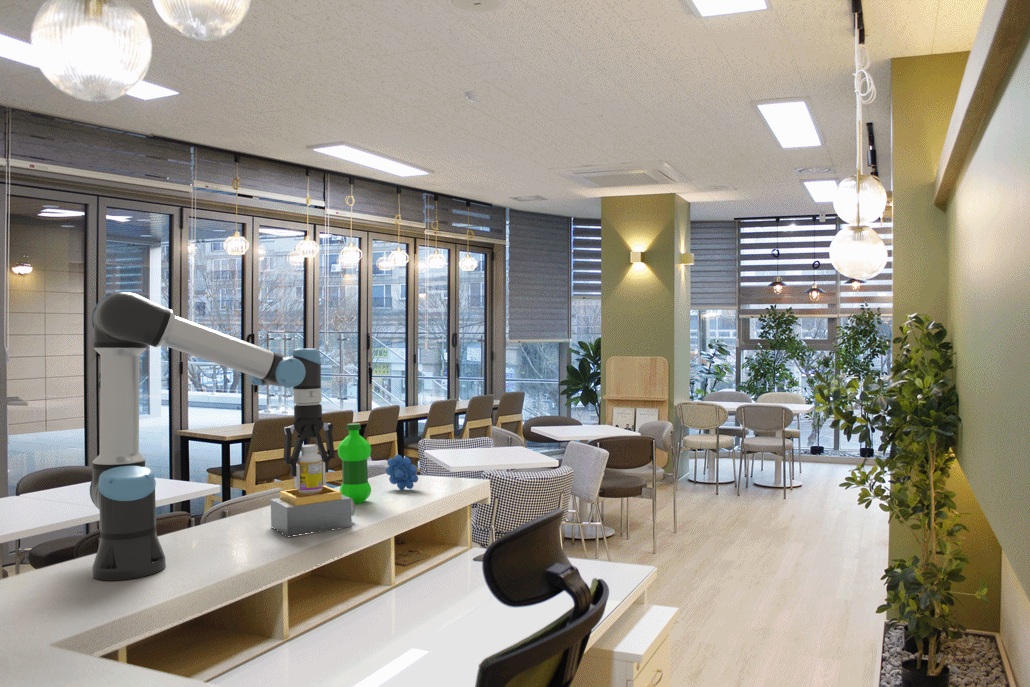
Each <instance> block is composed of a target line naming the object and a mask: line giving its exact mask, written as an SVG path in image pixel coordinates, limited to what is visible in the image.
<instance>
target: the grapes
mask: <svg viewBox="0 0 1030 687" xmlns="http://www.w3.org/2000/svg"><path fill="white" fill-rule="evenodd" d="M386 462H387V466H386V468H385V473H386V475H388V476H389V478H388V480H389V482H390V484H392V485H396V487H397V489H399V490H402V491H403V490H405V489H409V490H412V489H413V488H414V485H415V484H416V483H417V482H418V481H419V476H418V475H417V474H416V473H418V467H417V466H416V465H415V464H412V460H411V458H409V457H408V456H404V457H402V455H400V454H395V455H394V457H393V458H388V460H387V461H386ZM414 483H415V484H414Z"/></svg>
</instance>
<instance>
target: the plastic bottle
mask: <svg viewBox="0 0 1030 687" xmlns="http://www.w3.org/2000/svg"><path fill="white" fill-rule="evenodd" d="M360 430H361V423H360V422H359V423H358V422H356V423H352V422H351V423H347V424H346V431H348V435H346V436H345V438H344V439H343V440H342V441H341V442H339V443H338V446H337V455H338V458H339V459H340V460H341V468H342V470H341V473H342V475H341V476H342V483H341V485H340V487H339V491H340V492H342V495H344V496H347V497H349V498H352V499H353V501H354V504H355V505H357V503H359V504H363V503H365V502H366V500H367V499H368V498H369V497H370V496H371V493H372V488H371V485H370V482H369V478H368V474H369V473H368V471H369V470H368V459H369V457H370V456H371V453H372V447H371V443H370V442H369V441H368V440H366V439H365V437H363V436H362V435H360ZM362 502H363V503H362Z"/></svg>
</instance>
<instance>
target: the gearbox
mask: <svg viewBox="0 0 1030 687" xmlns="http://www.w3.org/2000/svg"><path fill="white" fill-rule="evenodd" d="M355 506H356V504H354V501H353V499H352V498H349V497H347V496H344V495H342V492H340V490H338V489H335V488H332V487H330V486H328V485H324V486H323V485H322V491H320V492H317V493H310V494H304V493H300V492H299V491H298V489H296V488H294V489H293V488H292V489H286V490H280V491H279V497H278V498H277V497H276V498H270V524H271V527H273V528H275V529H276V530H278V531H279V532H281V533H283V534H284V535H286V536H293V535H299V534H305V533H311V532H319V531H325V532H327V531H326V530H330V531H333V530H332V529H336V530H339V529H338V528H342V529H347V528H346V527H348V528H352V526H353V525H352V523H353V522H352V517H353V516H354V515H355V512H356V507H355ZM273 528H272V529H273ZM276 530H275V531H276ZM278 531H277V532H278ZM279 532H278V533H279ZM281 533H280V534H281ZM319 533H320V532H319ZM283 534H282V535H283ZM284 535H283V536H284ZM286 536H285V537H286Z"/></svg>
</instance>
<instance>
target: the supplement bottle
mask: <svg viewBox="0 0 1030 687" xmlns="http://www.w3.org/2000/svg"><path fill="white" fill-rule="evenodd" d="M297 464H298V465H300V489H298V491H299V492H300V493H304V494H310V493H317V492H320V491H322V457H321V455H320V454H319V451H318V445H316V444H303V445H302V448H301V451H300V455H299V458H298V461H297Z"/></svg>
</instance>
